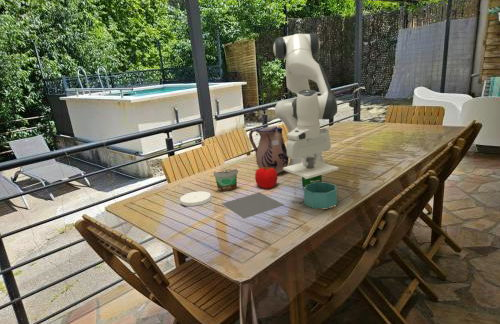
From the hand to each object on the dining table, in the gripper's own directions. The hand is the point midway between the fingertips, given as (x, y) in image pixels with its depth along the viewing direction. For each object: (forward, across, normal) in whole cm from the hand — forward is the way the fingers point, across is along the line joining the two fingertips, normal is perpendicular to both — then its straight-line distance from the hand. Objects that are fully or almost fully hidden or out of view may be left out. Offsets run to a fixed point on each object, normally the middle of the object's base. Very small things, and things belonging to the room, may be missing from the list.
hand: (310, 164), depth 141 cm
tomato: (+17, +2, -30) cm, 35 cm away
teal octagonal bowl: (+17, -3, +2) cm, 18 cm away
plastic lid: (+18, +38, -37) cm, 56 cm away
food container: (+17, +20, -39) cm, 47 cm away
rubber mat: (+17, +20, -15) cm, 31 cm away
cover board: (+2, 0, 0) cm, 2 cm away
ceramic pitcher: (+17, -11, -49) cm, 53 cm away
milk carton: (+17, -13, -15) cm, 26 cm away
